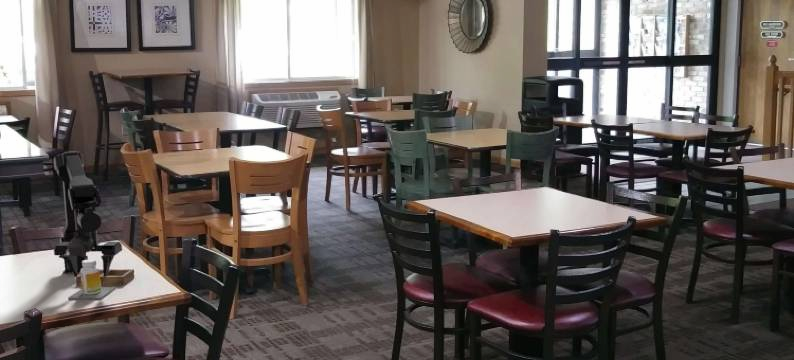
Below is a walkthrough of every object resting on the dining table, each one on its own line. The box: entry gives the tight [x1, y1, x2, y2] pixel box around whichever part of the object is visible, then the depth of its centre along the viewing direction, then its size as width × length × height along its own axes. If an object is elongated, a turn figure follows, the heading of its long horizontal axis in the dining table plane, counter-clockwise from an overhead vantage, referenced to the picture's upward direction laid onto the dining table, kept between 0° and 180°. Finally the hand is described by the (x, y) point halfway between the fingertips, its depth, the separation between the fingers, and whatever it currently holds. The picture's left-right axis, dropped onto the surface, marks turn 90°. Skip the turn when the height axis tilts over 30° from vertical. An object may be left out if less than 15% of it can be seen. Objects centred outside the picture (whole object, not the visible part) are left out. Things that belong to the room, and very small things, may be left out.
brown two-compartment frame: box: [75, 268, 135, 286], centre depth 270 cm, size 15×8×3 cm, turn 84°
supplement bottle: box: [79, 258, 102, 295], centre depth 257 cm, size 5×5×10 cm
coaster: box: [67, 286, 116, 301], centre depth 258 cm, size 10×10×1 cm
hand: (90, 276), depth 257 cm, fingers open, 9 cm apart
